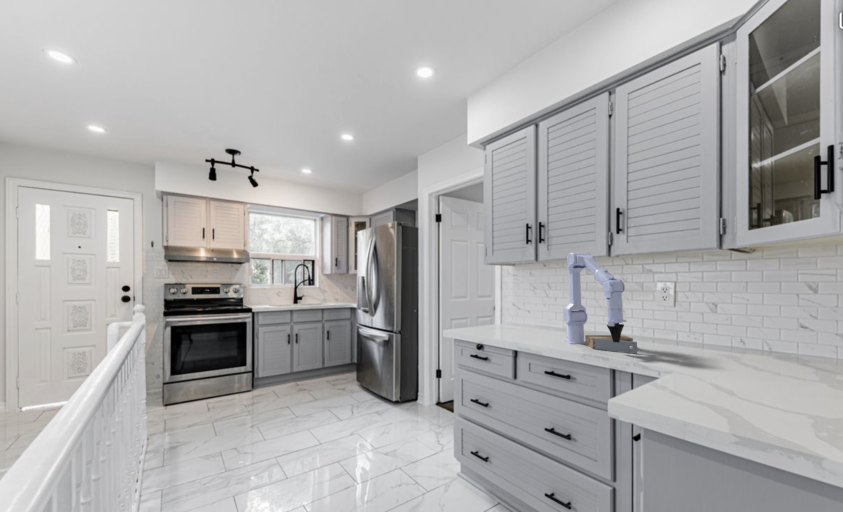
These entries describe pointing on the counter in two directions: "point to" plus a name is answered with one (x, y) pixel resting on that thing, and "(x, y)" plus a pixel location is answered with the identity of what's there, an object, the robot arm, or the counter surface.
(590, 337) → the cabinet
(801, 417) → the counter surface
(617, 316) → the robot arm
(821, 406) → the counter surface
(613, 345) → the door
